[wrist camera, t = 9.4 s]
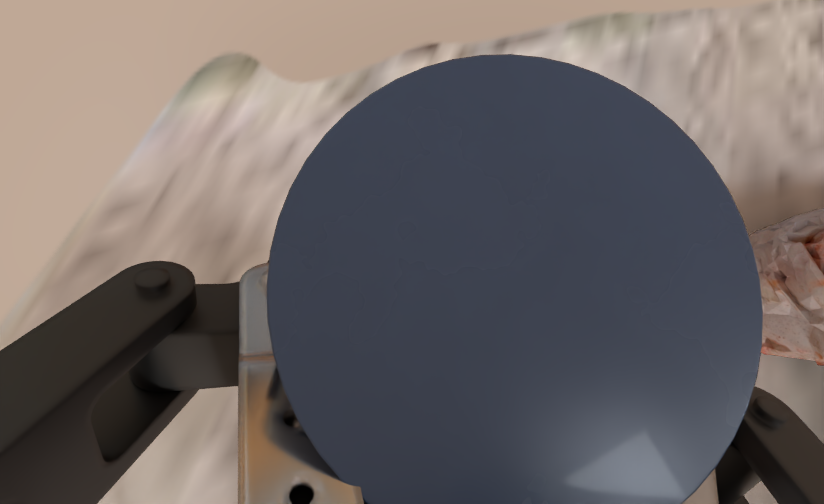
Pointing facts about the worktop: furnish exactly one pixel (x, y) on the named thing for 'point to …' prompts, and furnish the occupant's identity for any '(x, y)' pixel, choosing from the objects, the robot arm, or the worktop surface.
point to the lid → (514, 293)
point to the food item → (792, 286)
